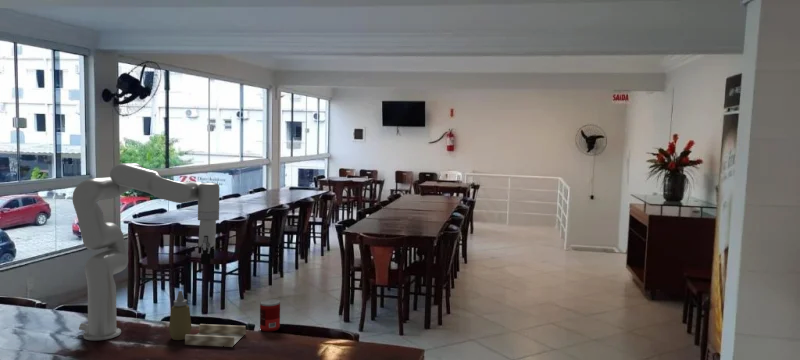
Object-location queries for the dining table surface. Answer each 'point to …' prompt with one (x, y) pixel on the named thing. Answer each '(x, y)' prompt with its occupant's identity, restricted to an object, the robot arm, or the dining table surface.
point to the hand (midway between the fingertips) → (207, 261)
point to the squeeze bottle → (180, 318)
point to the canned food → (269, 315)
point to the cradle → (216, 335)
